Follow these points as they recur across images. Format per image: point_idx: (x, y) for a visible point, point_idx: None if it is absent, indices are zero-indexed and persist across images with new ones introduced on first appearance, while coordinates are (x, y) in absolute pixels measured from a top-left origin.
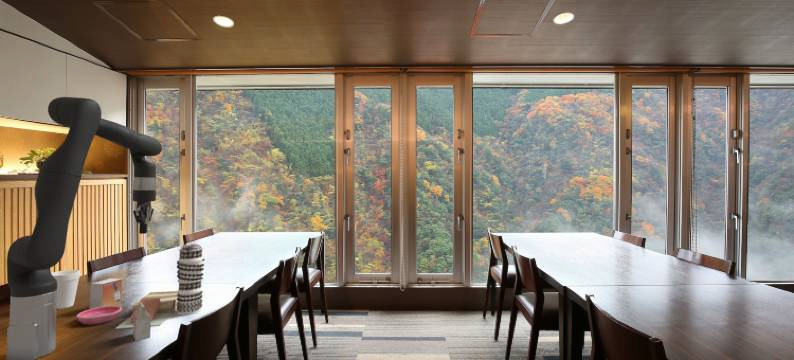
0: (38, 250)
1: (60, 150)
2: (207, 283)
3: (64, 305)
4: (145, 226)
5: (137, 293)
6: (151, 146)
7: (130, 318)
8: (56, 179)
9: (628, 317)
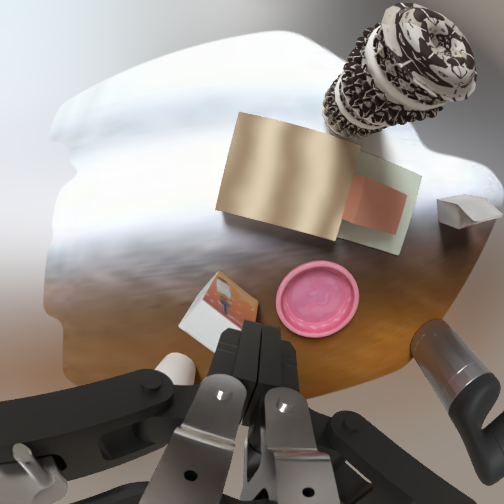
0: None
1: None
2: (99, 90)
3: (192, 365)
4: (280, 371)
5: (124, 247)
6: None
7: (352, 235)
8: None
9: None
